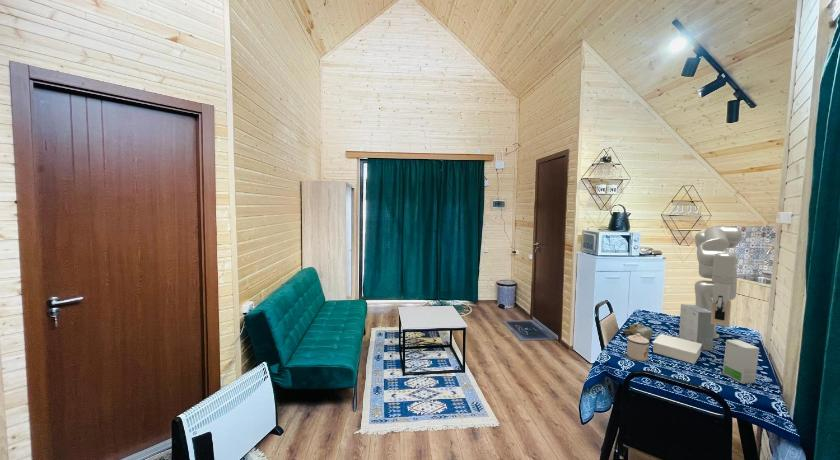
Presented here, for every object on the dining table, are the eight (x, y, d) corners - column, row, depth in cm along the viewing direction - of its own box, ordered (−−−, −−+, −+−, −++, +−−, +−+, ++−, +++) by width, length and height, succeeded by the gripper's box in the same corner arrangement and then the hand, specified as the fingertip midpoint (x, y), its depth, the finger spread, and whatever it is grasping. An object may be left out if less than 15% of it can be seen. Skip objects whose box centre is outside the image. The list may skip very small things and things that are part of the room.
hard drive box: (713, 351, 162) (715, 313, 161) (696, 350, 164) (698, 312, 162) (693, 339, 177) (695, 304, 176) (678, 338, 179) (680, 303, 178)
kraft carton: (712, 320, 152) (713, 297, 151) (729, 324, 148) (731, 300, 147) (710, 323, 149) (712, 299, 148) (728, 327, 144) (729, 302, 144)
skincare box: (722, 373, 140) (724, 339, 139) (735, 373, 140) (738, 339, 139) (742, 384, 131) (745, 347, 131) (757, 383, 132) (760, 347, 131)
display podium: (660, 343, 172) (661, 333, 171) (701, 354, 159) (702, 343, 159) (651, 352, 161) (652, 342, 160) (695, 364, 148) (696, 353, 148)
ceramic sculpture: (645, 327, 171) (619, 320, 185) (645, 343, 171) (619, 334, 185) (658, 325, 175) (632, 318, 189) (658, 340, 175) (632, 332, 189)
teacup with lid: (648, 363, 149) (650, 339, 148) (625, 358, 154) (627, 334, 153) (648, 353, 159) (649, 331, 158) (626, 349, 164) (627, 327, 163)
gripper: (714, 275, 155) (712, 312, 156) (709, 281, 144) (706, 320, 145) (736, 278, 149) (733, 316, 151) (732, 284, 138) (729, 324, 140)
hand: (720, 317), depth 148 cm, fingers closed on kraft carton, 5 cm apart
